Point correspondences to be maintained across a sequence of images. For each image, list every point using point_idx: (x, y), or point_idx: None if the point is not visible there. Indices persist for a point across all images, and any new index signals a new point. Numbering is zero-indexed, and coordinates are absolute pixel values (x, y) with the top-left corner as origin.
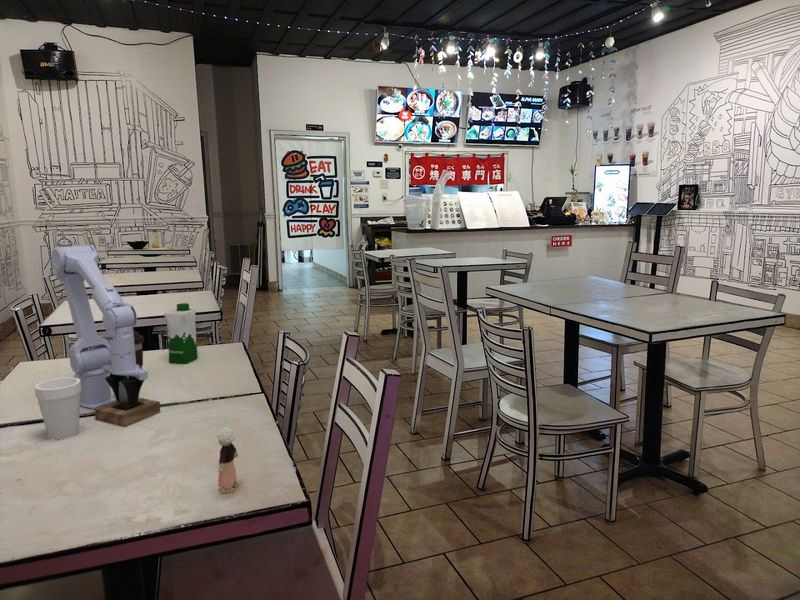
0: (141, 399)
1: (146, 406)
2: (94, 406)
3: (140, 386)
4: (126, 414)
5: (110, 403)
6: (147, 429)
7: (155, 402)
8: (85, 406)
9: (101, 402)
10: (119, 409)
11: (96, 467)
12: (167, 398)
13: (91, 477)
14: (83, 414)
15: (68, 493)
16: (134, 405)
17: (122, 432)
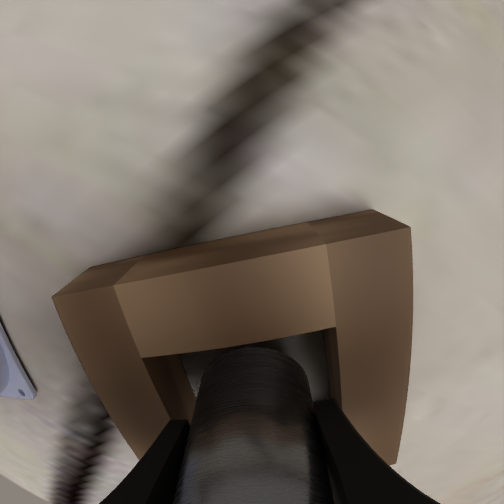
0: (207, 298)
1: (402, 348)
2: (24, 389)
3: (420, 498)
4: (393, 454)
5: (129, 439)
6: (478, 366)
7: (393, 259)
8: (6, 395)
9: (2, 360)
10: (181, 400)
11: (484, 483)
12: (137, 25)
13: (496, 485)
14: (75, 435)
15: (491, 501)
16: (311, 398)
17: (410, 436)
